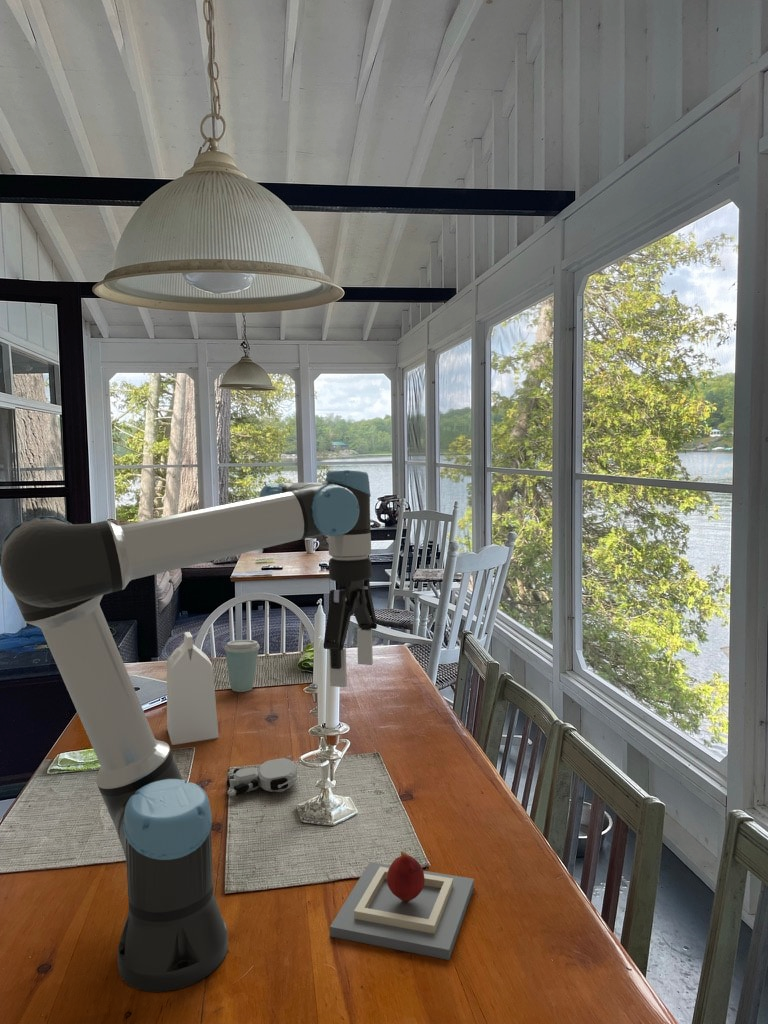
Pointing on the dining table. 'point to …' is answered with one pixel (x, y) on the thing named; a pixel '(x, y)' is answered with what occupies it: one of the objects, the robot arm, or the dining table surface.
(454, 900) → the plate
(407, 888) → the onion
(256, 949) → the dining table surface
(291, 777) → the robot toy
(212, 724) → the milk
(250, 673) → the disposable coffee cup
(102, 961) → the dining table surface
